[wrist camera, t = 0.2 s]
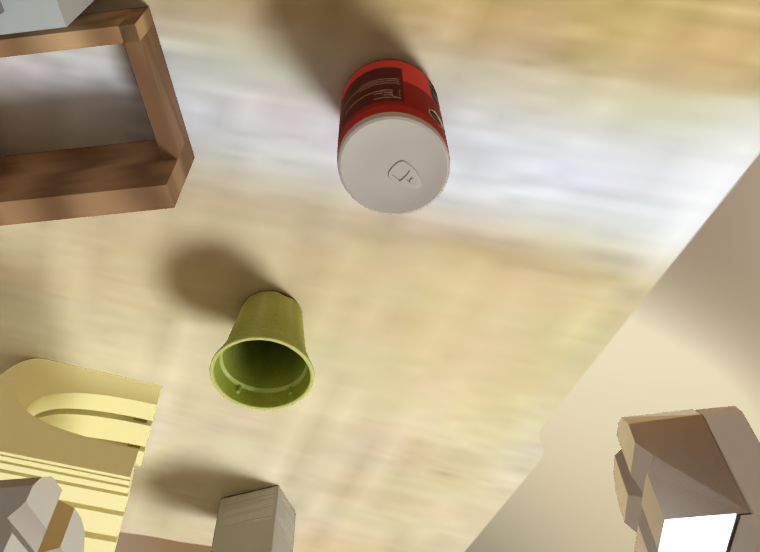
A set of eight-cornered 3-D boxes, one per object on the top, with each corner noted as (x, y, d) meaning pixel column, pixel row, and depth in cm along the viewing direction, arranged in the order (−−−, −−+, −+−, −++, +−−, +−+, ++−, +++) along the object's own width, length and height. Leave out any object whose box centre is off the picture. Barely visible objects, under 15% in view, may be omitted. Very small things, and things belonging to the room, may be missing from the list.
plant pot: (331, 337, 73) (327, 400, 66) (245, 355, 74) (233, 419, 67) (301, 267, 67) (294, 328, 60) (209, 288, 68) (192, 350, 62)
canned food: (414, 158, 60) (422, 229, 51) (326, 125, 58) (320, 193, 49) (454, 79, 56) (471, 142, 47) (362, 40, 54) (361, 98, 45)
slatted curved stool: (12, 290, 68) (-81, 435, 54) (176, 331, 72) (130, 477, 58) (-1, 472, 85) (-74, 618, 71) (132, 498, 89) (88, 642, 75)
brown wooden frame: (148, 6, 52) (118, 44, 46) (194, 157, 60) (174, 207, 53) (-84, 34, 53) (-145, 74, 47) (-10, 179, 61) (-54, 231, 54)
